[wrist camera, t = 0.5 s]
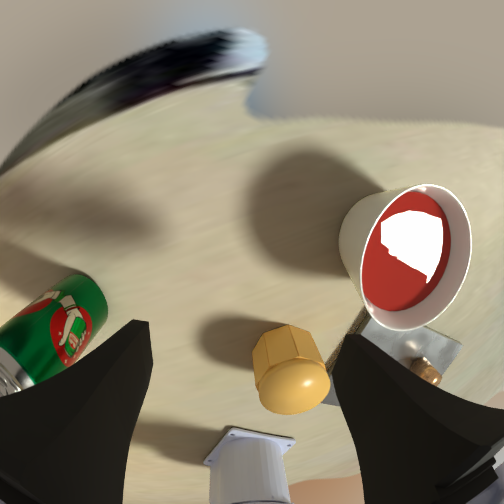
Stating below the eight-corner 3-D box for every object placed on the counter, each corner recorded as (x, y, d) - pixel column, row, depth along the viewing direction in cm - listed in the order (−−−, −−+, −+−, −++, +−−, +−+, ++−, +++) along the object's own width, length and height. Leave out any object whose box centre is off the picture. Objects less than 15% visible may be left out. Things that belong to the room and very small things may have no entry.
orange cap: (294, 379, 22) (305, 419, 18) (244, 364, 22) (246, 406, 17) (324, 337, 21) (343, 374, 17) (271, 318, 21) (281, 357, 16)
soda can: (59, 308, 19) (-20, 387, 8) (68, 261, 18) (-34, 331, 7) (104, 335, 20) (40, 435, 9) (117, 290, 19) (32, 390, 8)
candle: (298, 234, 19) (327, 261, 13) (383, 155, 18) (437, 152, 12) (363, 312, 21) (400, 354, 15) (434, 241, 20) (483, 262, 14)
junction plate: (406, 410, 26) (419, 430, 22) (308, 395, 23) (317, 424, 19) (459, 342, 24) (478, 359, 20) (374, 302, 21) (397, 325, 17)
